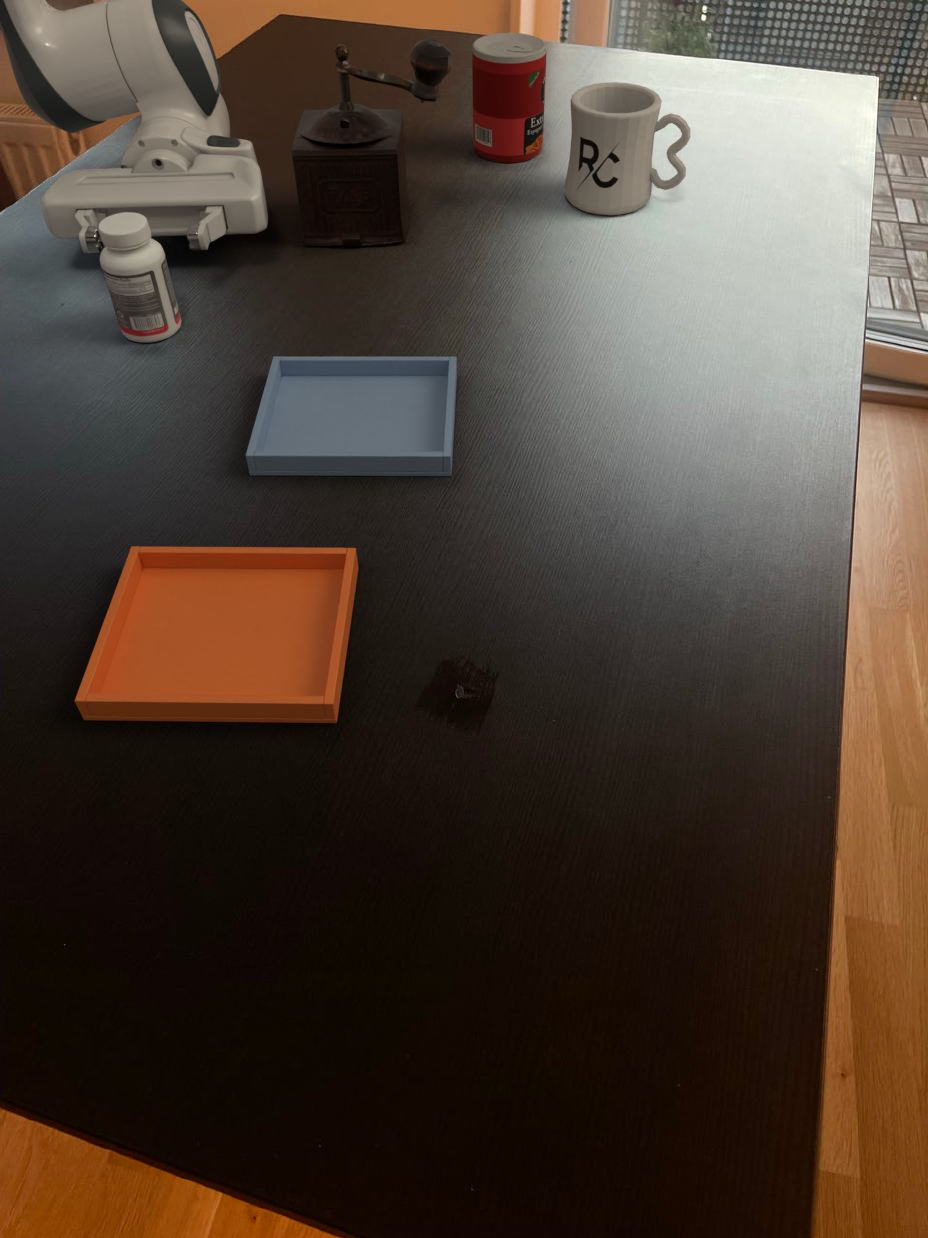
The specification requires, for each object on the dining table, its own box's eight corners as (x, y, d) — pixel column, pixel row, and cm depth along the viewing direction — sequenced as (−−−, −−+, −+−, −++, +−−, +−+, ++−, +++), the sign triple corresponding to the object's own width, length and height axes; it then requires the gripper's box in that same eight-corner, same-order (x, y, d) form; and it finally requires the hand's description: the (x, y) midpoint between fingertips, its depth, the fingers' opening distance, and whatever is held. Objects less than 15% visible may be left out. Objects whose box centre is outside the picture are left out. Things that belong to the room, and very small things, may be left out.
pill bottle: (145, 307, 92) (116, 203, 84) (194, 319, 90) (169, 214, 83) (109, 337, 88) (75, 231, 81) (159, 350, 87) (129, 242, 80)
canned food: (539, 165, 111) (543, 57, 103) (468, 162, 112) (466, 54, 104) (546, 137, 116) (550, 32, 108) (478, 134, 117) (477, 30, 109)
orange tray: (83, 720, 60) (74, 701, 58) (138, 566, 68) (131, 545, 67) (336, 723, 59) (333, 703, 58) (358, 567, 68) (356, 547, 67)
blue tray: (249, 475, 75) (245, 455, 74) (276, 375, 84) (273, 355, 82) (451, 476, 74) (450, 456, 73) (457, 375, 83) (456, 356, 82)
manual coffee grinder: (300, 250, 99) (271, 51, 85) (312, 200, 106) (287, 9, 93) (456, 248, 98) (452, 48, 85) (457, 198, 106) (454, 7, 93)
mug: (554, 211, 103) (559, 110, 96) (575, 175, 109) (582, 76, 102) (672, 227, 100) (687, 124, 93) (688, 189, 106) (703, 89, 99)
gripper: (52, 145, 95) (11, 211, 85) (268, 139, 95) (251, 205, 85) (73, 210, 99) (36, 280, 90) (278, 205, 99) (263, 274, 90)
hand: (142, 243), depth 88 cm, fingers open, 8 cm apart
